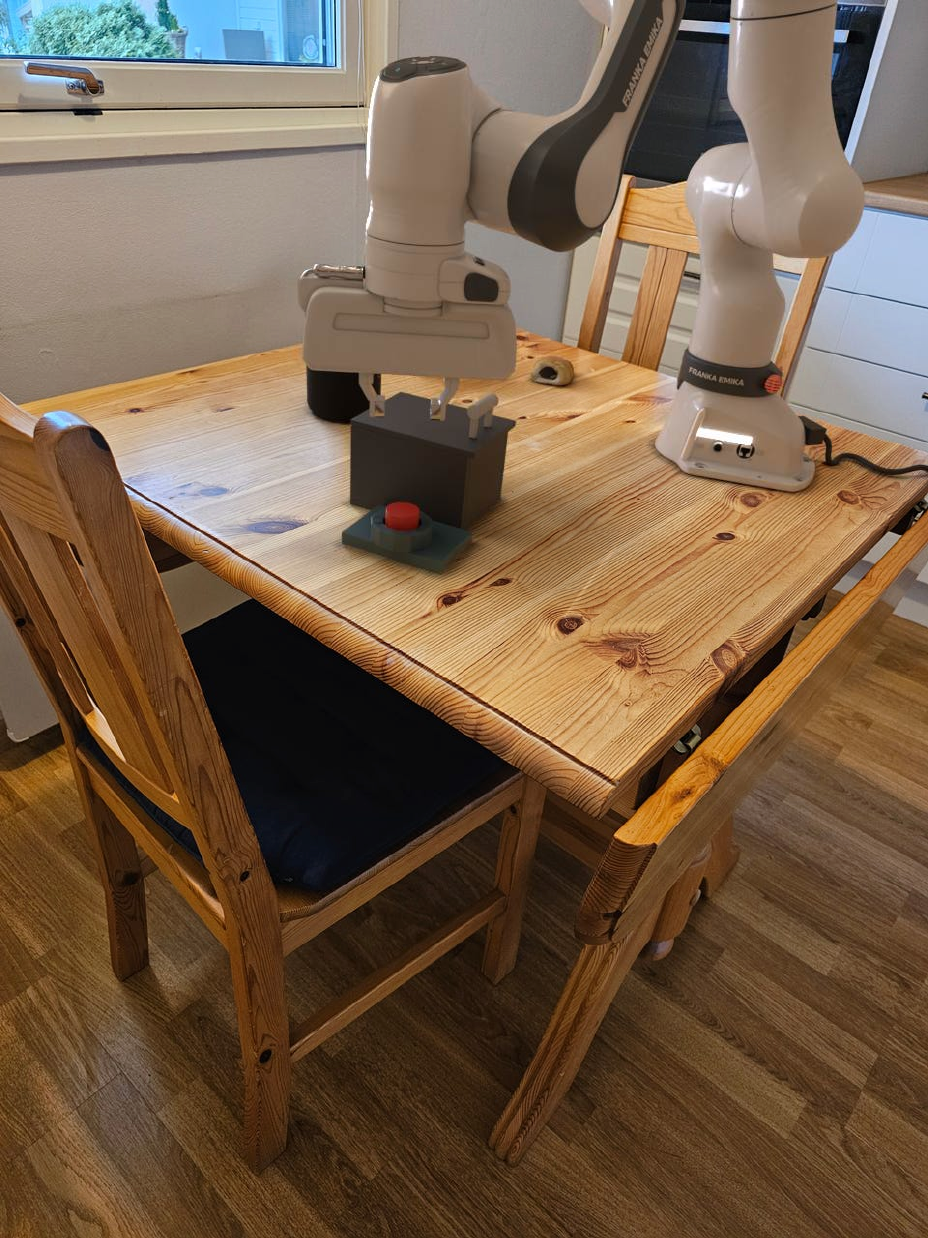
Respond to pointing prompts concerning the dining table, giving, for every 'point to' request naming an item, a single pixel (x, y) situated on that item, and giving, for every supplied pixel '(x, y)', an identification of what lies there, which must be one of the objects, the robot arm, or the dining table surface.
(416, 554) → the control block
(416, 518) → the button
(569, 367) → the pastry
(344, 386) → the coffee jar
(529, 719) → the dining table surface
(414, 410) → the lid
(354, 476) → the dark grey box
